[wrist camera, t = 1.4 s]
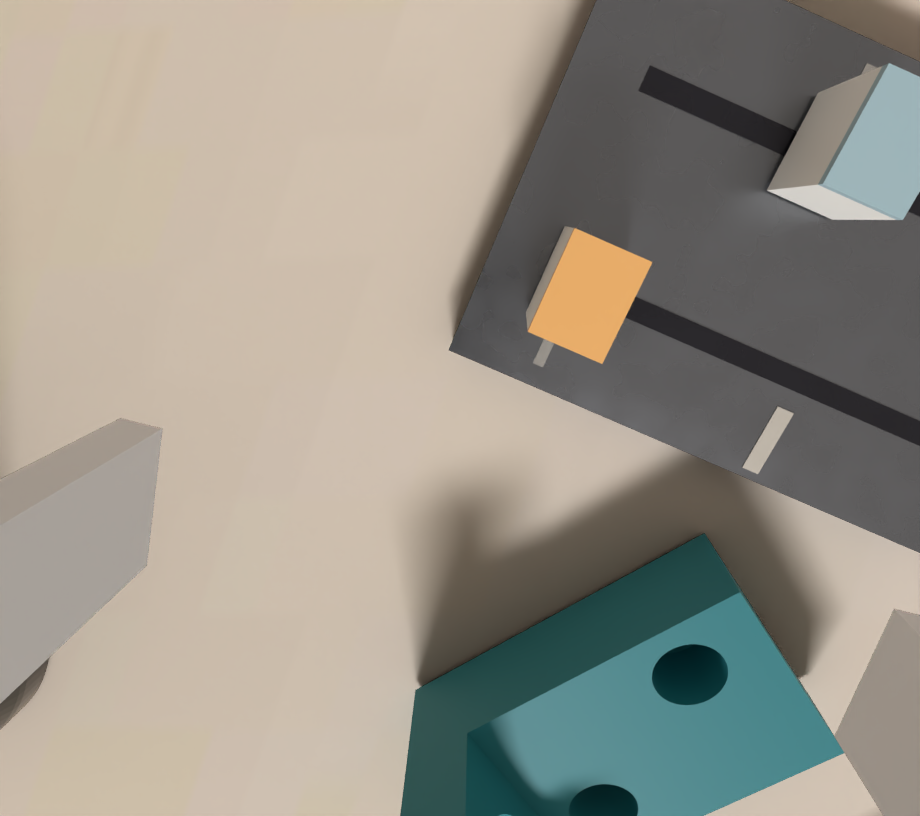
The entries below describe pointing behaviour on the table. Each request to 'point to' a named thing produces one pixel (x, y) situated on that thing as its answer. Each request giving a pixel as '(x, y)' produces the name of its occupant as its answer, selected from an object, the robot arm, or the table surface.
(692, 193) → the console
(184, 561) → the table surface
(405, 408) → the table surface
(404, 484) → the table surface
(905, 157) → the block
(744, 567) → the table surface
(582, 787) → the teal l-shaped bracket
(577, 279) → the fader
